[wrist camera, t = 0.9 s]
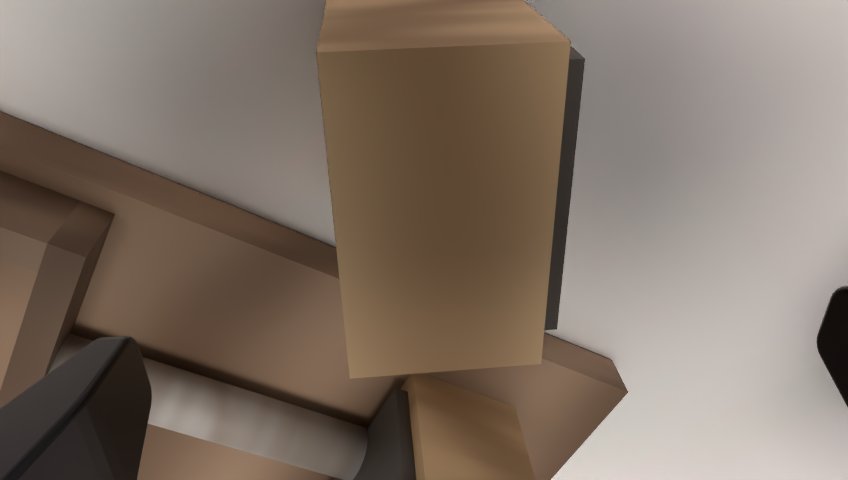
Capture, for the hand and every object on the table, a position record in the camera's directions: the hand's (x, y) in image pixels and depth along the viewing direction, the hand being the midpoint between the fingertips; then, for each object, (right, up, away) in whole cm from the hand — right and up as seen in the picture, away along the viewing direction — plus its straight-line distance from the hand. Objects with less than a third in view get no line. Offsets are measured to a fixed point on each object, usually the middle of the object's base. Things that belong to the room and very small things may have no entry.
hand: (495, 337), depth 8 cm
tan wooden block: (-1, +5, +8) cm, 10 cm away
